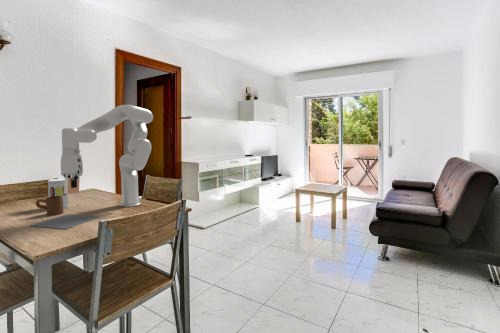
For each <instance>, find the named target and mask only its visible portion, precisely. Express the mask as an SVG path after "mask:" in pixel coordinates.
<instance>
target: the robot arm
mask: <svg viewBox="0 0 500 333" xmlns="http://www.w3.org/2000/svg"><path fill="white" fill-rule="evenodd" d="M153 114H154V113H152V111H150V110H149V109H147V108H143V107H140V106H136V105H133V104H121V105H117V106H116V107H114V108H112V109H111V110H109V111H108V112H106V113H103V115H100V116H99V117H96V118H95V119H93V120H90V121H88V122H86V123H84V124H81V126H79V127H77V128H71V127H70V128H68V127H65V128H62V129H61V151H62V152H61V153H62V154H61V158H60V175H61V176H62V177H64V179H65V178H72V180H71V188H75V187H77V180H78V178H80V177H82V176H83V173H84V168H83V167H84V165H83V158H82V155H81V150H80V143H82V144H83V143H85V144H90V143H93V142H95V141H96V140H97V137H98V133H101V132H102V133H103V132H106V131H109V130H112V129H114V128H115V127H116V126H118V125H119V124H121V123H122V122H124V121H126V120H129V121H130V122H131V124H132V127H133V131H132V134H131V136H130V139H129V142H128V143H127V150H128V151H129V154H123V155H121V156H120V158H119V161H118V164H119V165H118V166H119V170H120V180H121V184H120V185H121V202H119V207H122V208H124V207H125V208H129V207H137V206H140V205H142V201H141V200H142V199H143V196H141V195H140V196H139V176H138V175H139V174H138V172H137V171H142V170H143V169H144V168H145V166H146V165H147V162H148V161H149V157H150V155H151V151H152V143H151V141H150V140H148V139H147V136H148V133H149V132H148V128H147V124H150V123H151V122H153V120H154V115H153ZM130 153H131V154H130Z"/></svg>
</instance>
